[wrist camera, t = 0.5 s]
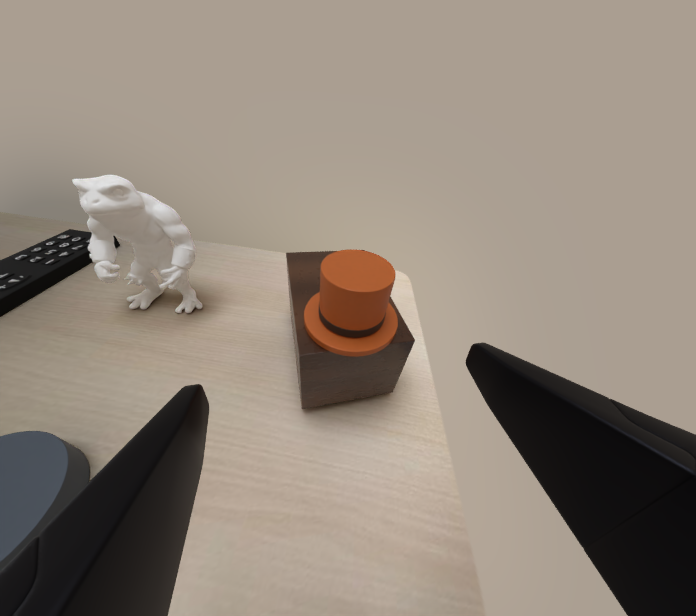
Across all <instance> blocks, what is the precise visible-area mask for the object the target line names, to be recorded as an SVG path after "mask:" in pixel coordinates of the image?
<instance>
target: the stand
mask: <svg viewBox="0 0 696 616" xmlns="http://www.w3.org/2000/svg"><path fill="white" fill-rule="evenodd" d="M89 473H90V471H89V464H88V461H87V458H86V457H85V455H84V453H82V452H81V451H80V450H79V449H78V448H76V447H74V446H72V445H71V444H69V443H67V442H65V441H64V440H62V439H60V438H58V437H57V436H55V435H53V434H50V433H47V432H41V431H25V432H17V433H12V434H8V435H4V436H1V437H0V571H1V570H2V569H3V568H4V567H5V566H6V565H7V564H8V563H9V562H10V561H11V560H12V559H13V558H14V557H15V556H16V555H17V554H18V553H19V552H20V551H21V550H22V549H23V548H24V547H25V546H26V545H27V544H28V543H29V542H30V541H31V540H32V539H33V538H34V537H36V536H39V533H40V531H41V530H42V529H43V528H44V527H45V526H46V525H47V524H48V523H49V522H50V521H51V520H52V519H53V518H54V517H55V516H56V515H57V514H58V513H59V512H60V511H61V510H62V509H63V508H64V507H65V506H66V505H67V504H68V503H69V502H70V501H71V500H72V499H73V498H74V497H75V496H76V495H77V494H78V493H79V492H80V491H81V490H82V489H83V488H84V487H85V486H86V485H87V484H88V482H89Z"/></svg>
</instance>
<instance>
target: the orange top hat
mask: <svg viewBox="0 0 696 616" xmlns="http://www.w3.org/2000/svg"><path fill="white" fill-rule="evenodd" d="M394 280H395V270H394V268H393V266H392V265H391V264H390V263H389V262H388V261H387V260H386V259H384V258H382V257H380V256H379V255H376V254H374V253H371V252H367V251H362V250H341V251H337V252H334V253H332V254H330V255H328V256H327V257H325V258H324V260H323V261H322V263H321V269H320V292H319V293H317V294H316V295H314V296H313V297H312V298H311V299H310V300H309V302H308V303H307V305H306V307H305V310H304V325H305V328H306V331H307V333H308V334H309V336H310V337H311V338H312V339H313V340H314V342H316V343H317V344H318V345H319V346H321V347H322V348H324V349H326V350H328V351H330V352H333V353H335V354H339V355H343V356H355V357H358V356H366V355H371V354H374V353H376V352H378V351H380V350H382V349H384V348H385V347H386V346H387V345H389V344H390V342H391V341H392V340H393V338H394V336H395V334H396V330H397V327H398V319H397V315H396V312H395V310H394V309H393V307H392V306H391V304H390V303H389V298H390V295H391V291H392V287H393V284H394Z"/></svg>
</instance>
